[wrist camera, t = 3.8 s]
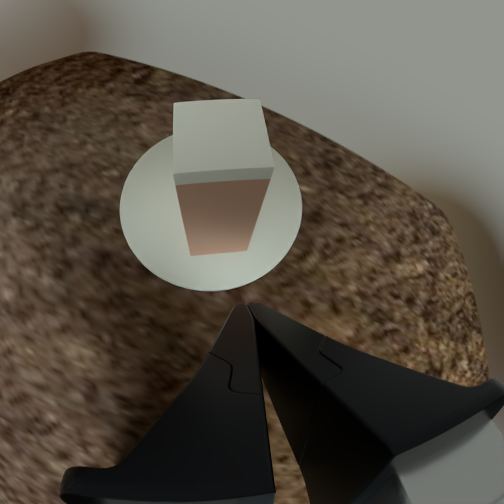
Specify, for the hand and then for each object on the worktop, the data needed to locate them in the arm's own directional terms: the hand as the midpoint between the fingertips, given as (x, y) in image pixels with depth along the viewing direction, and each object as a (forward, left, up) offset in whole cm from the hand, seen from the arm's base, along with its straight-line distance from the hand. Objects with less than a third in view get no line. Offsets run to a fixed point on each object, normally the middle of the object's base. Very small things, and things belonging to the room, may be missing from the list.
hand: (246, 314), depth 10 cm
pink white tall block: (+6, -7, -13) cm, 16 cm away
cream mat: (+8, -9, -14) cm, 18 cm away
